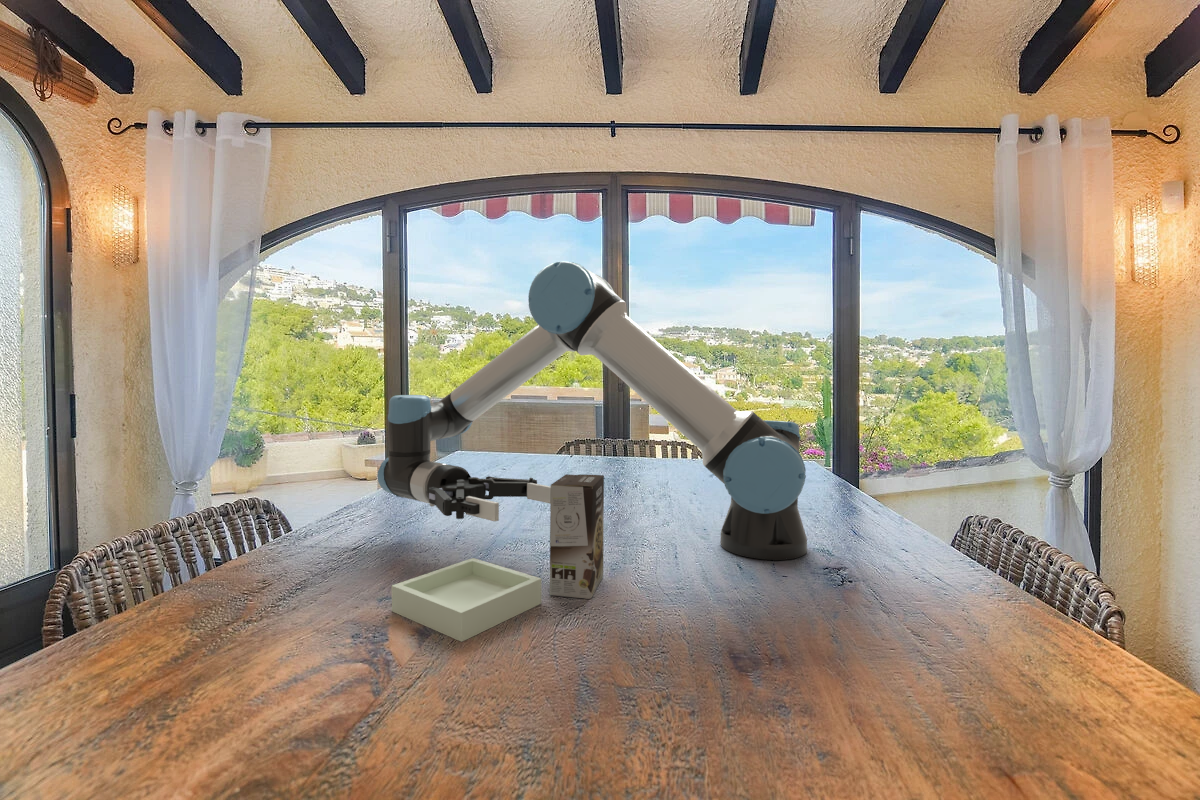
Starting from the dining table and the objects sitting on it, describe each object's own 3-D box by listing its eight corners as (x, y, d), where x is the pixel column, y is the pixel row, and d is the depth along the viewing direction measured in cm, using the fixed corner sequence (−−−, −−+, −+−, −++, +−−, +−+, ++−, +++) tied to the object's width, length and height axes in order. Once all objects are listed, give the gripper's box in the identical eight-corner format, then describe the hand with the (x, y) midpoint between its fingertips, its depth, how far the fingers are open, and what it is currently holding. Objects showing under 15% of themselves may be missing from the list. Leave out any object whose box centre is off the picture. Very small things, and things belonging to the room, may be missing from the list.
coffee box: (592, 600, 81) (593, 486, 80) (548, 596, 83) (548, 483, 82) (604, 576, 90) (605, 474, 89) (564, 573, 91) (565, 472, 91)
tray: (541, 603, 80) (541, 578, 80) (461, 641, 69) (461, 612, 69) (473, 580, 88) (473, 557, 88) (391, 611, 77) (391, 585, 77)
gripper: (493, 493, 114) (577, 511, 102) (380, 519, 94) (466, 546, 82) (494, 456, 114) (578, 469, 101) (379, 474, 94) (467, 493, 81)
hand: (528, 503), depth 92 cm, fingers open, 13 cm apart
